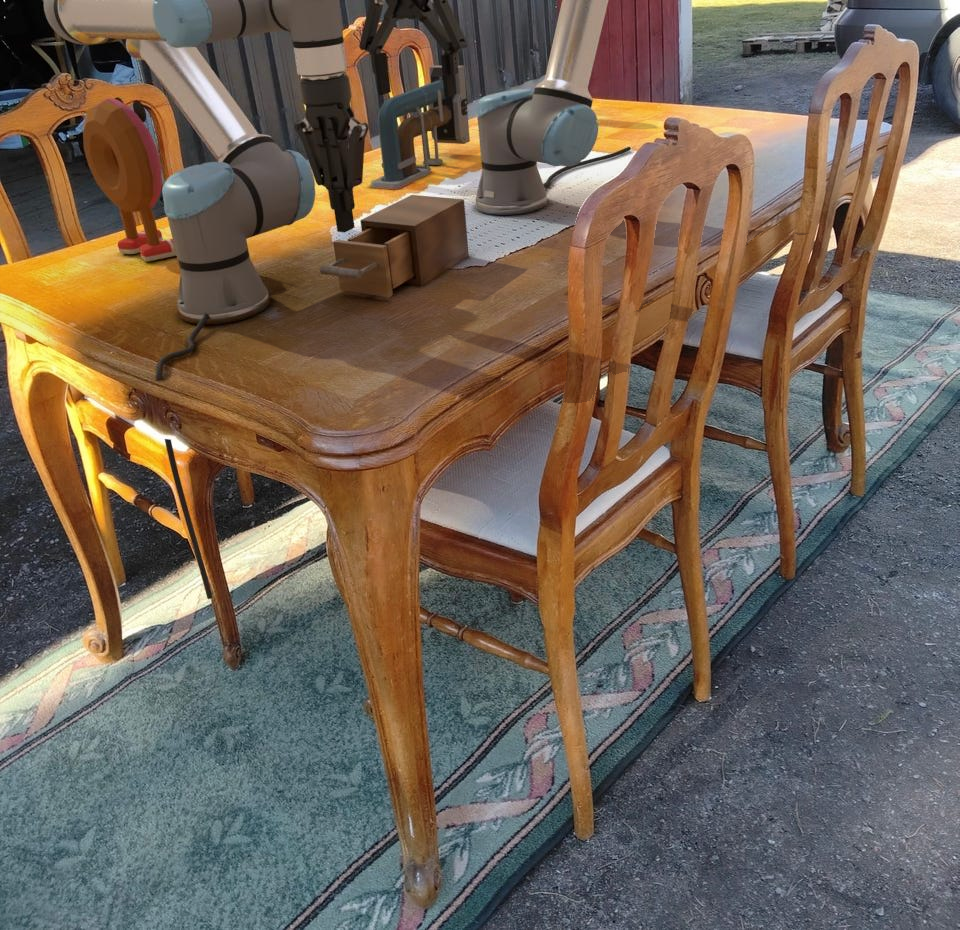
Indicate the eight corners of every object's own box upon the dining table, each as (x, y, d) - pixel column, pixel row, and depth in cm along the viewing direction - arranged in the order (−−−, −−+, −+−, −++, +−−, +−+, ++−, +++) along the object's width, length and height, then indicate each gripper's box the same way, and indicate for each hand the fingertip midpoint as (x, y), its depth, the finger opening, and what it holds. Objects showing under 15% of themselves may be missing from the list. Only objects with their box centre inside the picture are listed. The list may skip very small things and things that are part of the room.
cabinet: (421, 285, 169) (414, 225, 163) (368, 278, 174) (360, 220, 169) (468, 256, 181) (464, 199, 175) (417, 250, 186) (411, 194, 181)
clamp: (398, 189, 225) (386, 93, 214) (367, 187, 229) (354, 92, 218) (470, 153, 251) (464, 65, 240) (441, 151, 255) (433, 65, 244)
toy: (203, 253, 194) (168, 96, 179) (158, 268, 188) (118, 106, 172) (148, 236, 207) (111, 88, 192) (105, 250, 201) (62, 98, 186)
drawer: (368, 310, 158) (361, 259, 153) (319, 302, 163) (310, 252, 158) (436, 268, 173) (431, 220, 169) (389, 262, 178) (383, 216, 173)
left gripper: (373, 71, 144) (392, 226, 156) (305, 70, 151) (328, 219, 163) (342, 80, 139) (364, 240, 151) (273, 79, 145) (300, 232, 157)
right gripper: (481, -51, 152) (490, 91, 163) (354, -44, 164) (371, 88, 175) (456, -46, 147) (468, 100, 158) (327, -40, 158) (346, 96, 169)
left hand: (346, 229), depth 157 cm, fingers closed
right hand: (417, 94), depth 166 cm, fingers open, 13 cm apart
